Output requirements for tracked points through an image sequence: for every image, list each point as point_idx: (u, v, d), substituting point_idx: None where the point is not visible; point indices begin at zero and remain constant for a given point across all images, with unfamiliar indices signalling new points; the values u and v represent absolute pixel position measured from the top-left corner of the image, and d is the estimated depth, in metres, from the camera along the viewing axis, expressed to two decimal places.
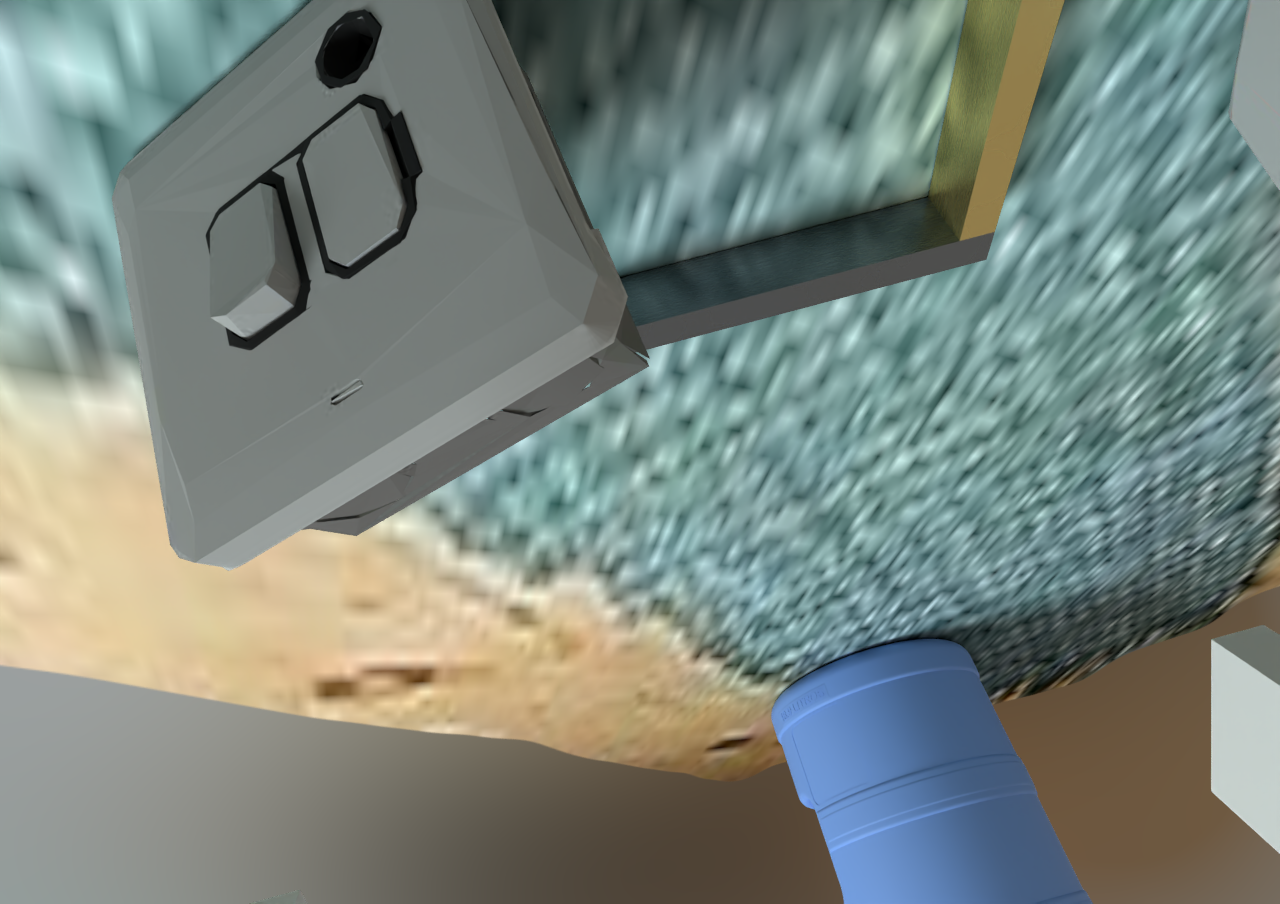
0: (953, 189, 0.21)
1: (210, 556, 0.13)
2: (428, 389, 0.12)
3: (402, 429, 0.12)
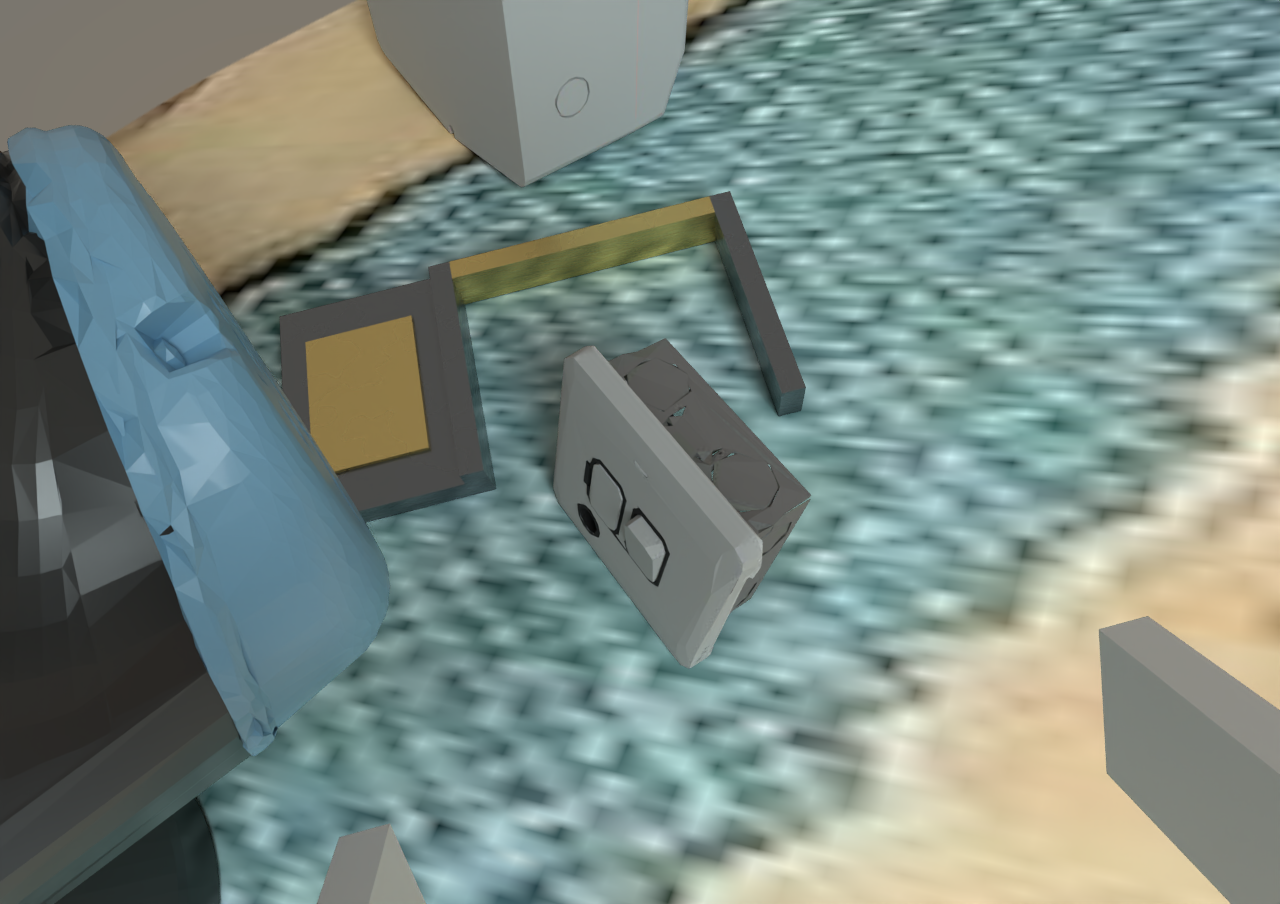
0: (692, 230, 0.37)
1: (730, 539, 0.22)
2: (618, 423, 0.24)
3: (635, 431, 0.24)
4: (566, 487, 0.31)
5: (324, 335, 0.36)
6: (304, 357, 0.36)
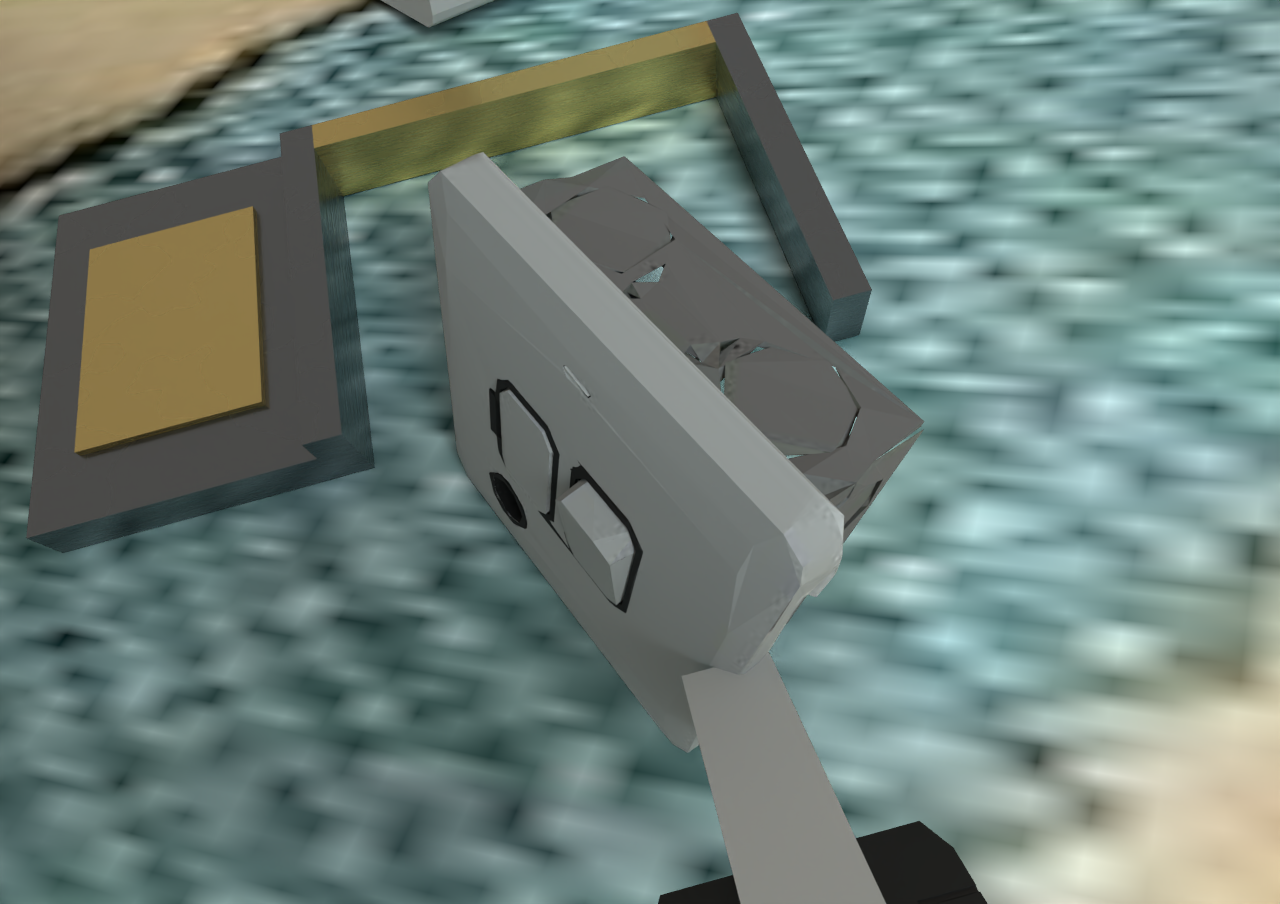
0: (682, 75, 0.24)
1: (771, 513, 0.10)
2: (529, 289, 0.12)
3: (559, 301, 0.12)
4: (471, 446, 0.18)
5: (121, 240, 0.24)
6: (87, 272, 0.23)
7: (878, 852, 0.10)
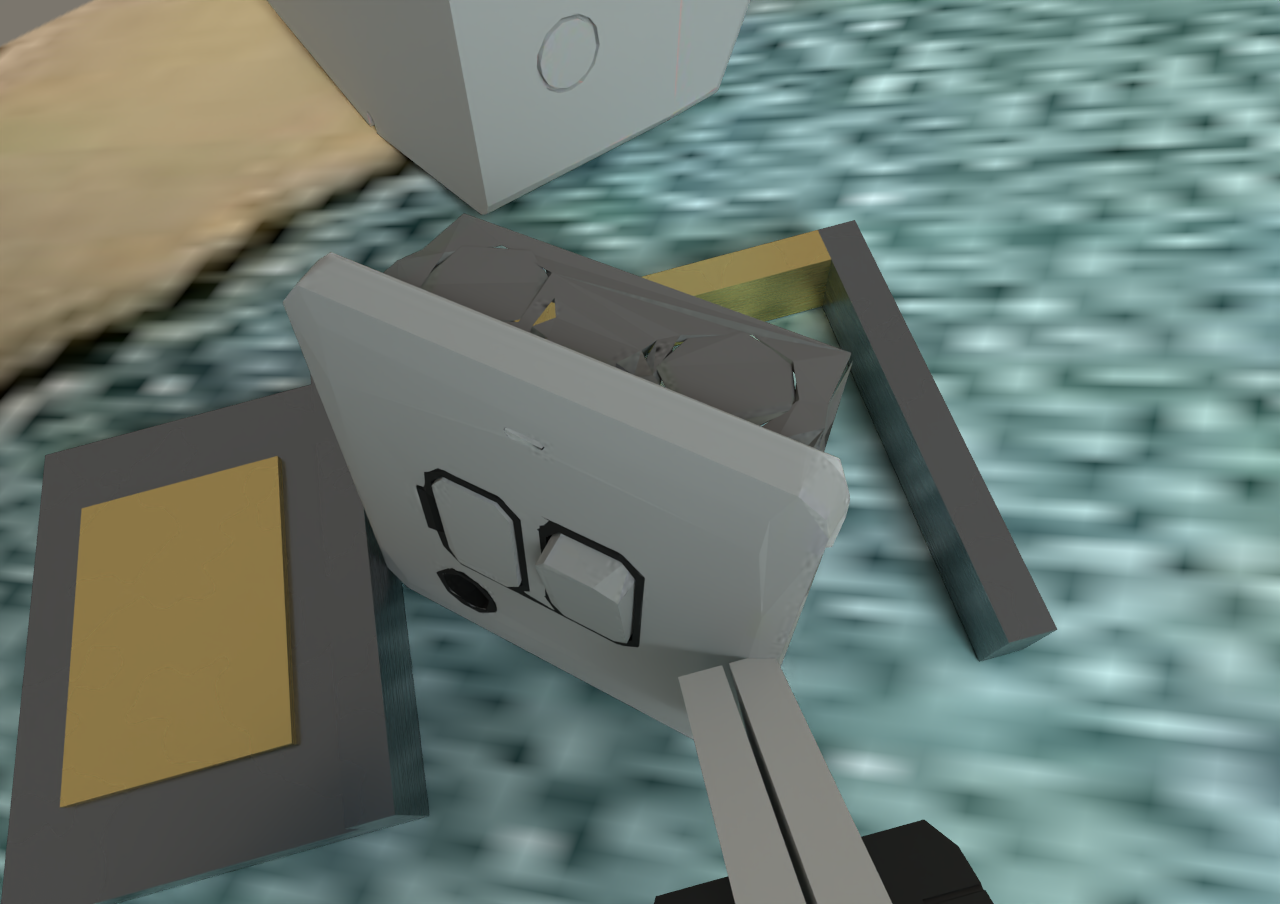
0: (787, 291, 0.21)
1: (778, 482, 0.10)
2: (440, 367, 0.12)
3: (480, 365, 0.11)
4: (406, 554, 0.17)
5: (120, 493, 0.20)
6: (79, 537, 0.19)
7: (883, 851, 0.10)
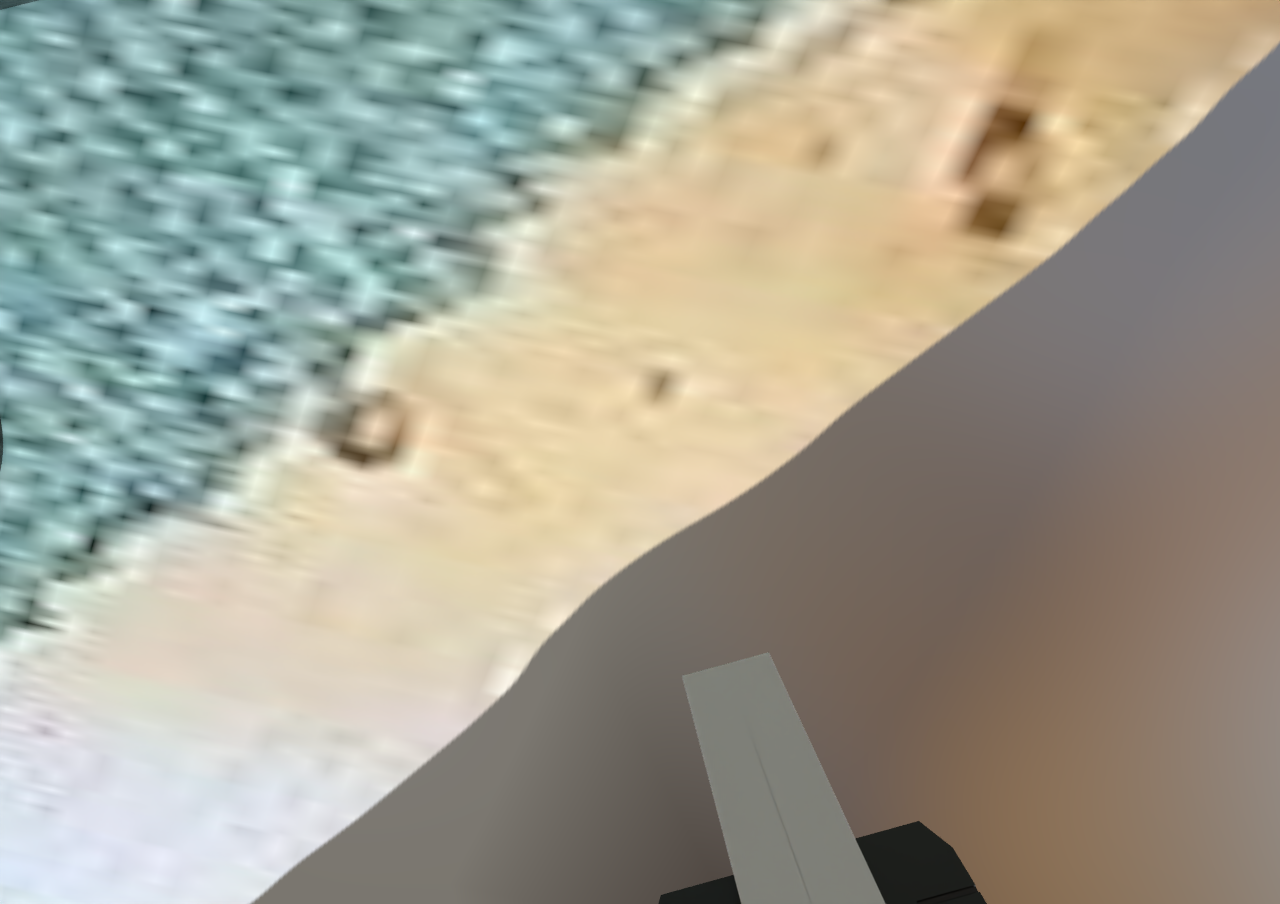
0: None
1: None
2: None
3: None
4: None
5: None
6: None
7: (877, 852, 0.10)
